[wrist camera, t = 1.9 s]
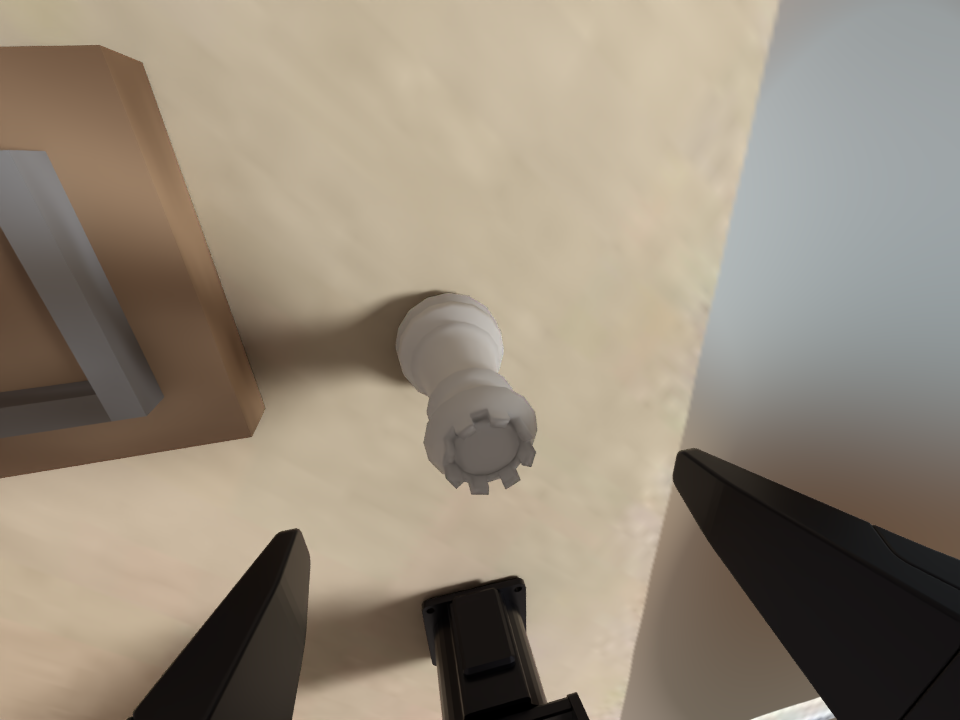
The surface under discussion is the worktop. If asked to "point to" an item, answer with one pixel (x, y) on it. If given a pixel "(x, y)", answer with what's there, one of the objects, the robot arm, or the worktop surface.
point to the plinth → (104, 274)
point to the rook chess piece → (466, 392)
